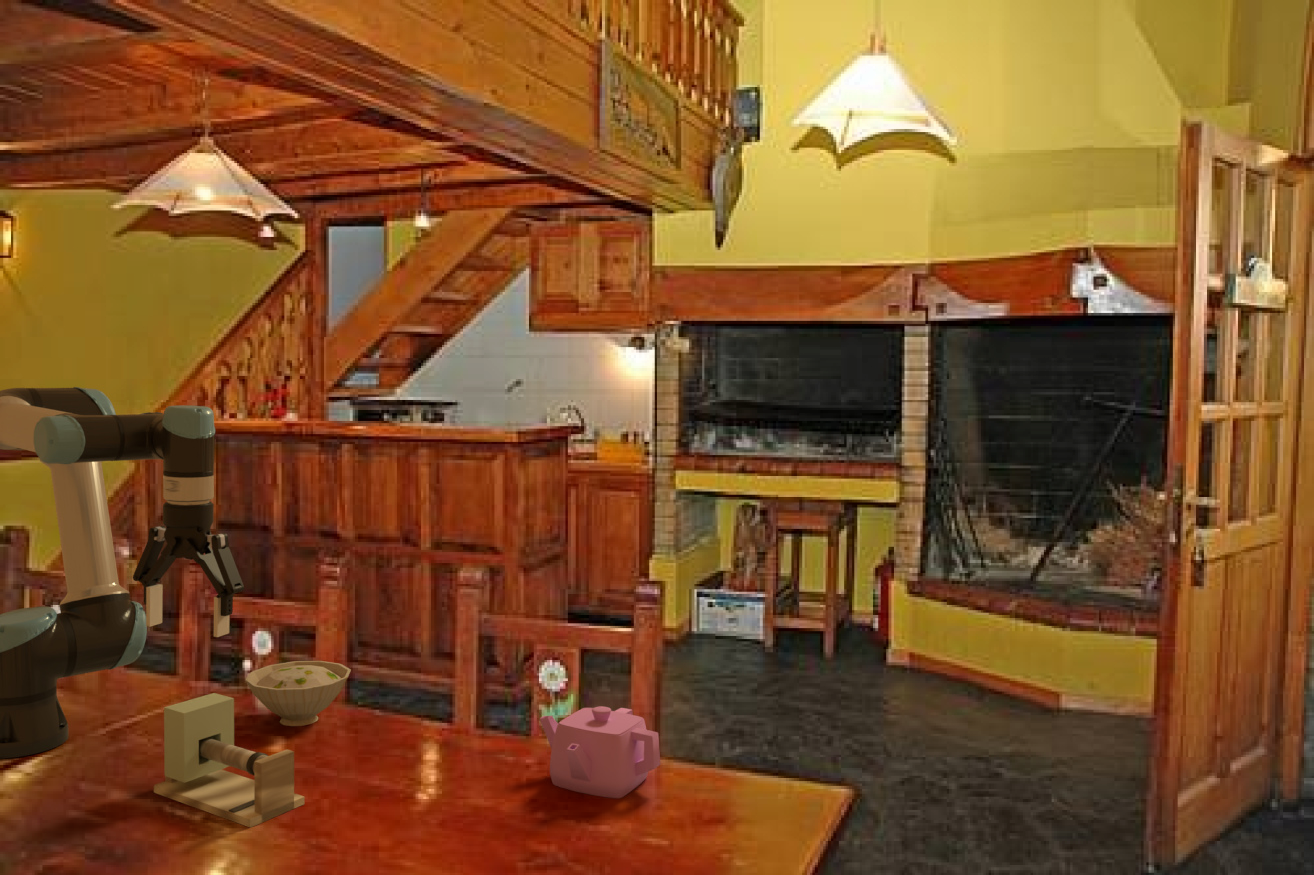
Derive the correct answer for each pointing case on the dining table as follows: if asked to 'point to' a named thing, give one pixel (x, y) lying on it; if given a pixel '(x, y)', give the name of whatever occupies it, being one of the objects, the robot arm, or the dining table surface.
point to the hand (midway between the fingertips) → (187, 629)
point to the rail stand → (239, 785)
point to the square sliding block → (196, 734)
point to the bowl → (298, 688)
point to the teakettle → (601, 751)
